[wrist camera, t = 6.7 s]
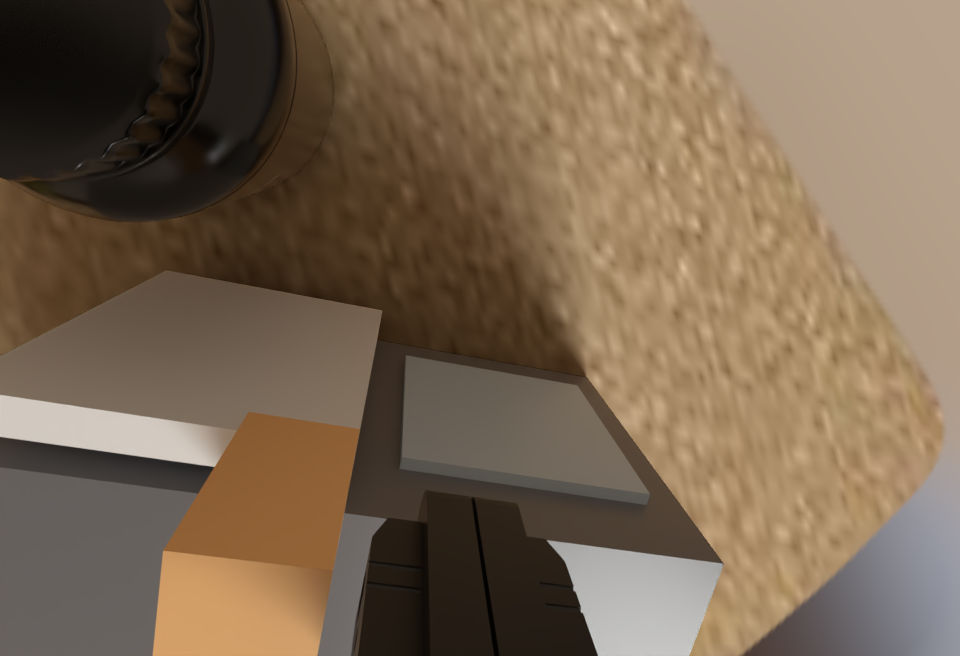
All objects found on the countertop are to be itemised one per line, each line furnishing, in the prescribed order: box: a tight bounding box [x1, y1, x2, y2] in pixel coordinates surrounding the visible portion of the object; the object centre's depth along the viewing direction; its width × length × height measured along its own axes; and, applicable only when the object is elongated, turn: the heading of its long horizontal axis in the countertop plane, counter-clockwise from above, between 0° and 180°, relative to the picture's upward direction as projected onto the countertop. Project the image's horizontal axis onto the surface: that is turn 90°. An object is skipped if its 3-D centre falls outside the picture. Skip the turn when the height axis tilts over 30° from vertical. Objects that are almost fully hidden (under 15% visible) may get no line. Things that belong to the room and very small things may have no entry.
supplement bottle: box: [0, 0, 334, 222], centre depth 14 cm, size 7×7×12 cm
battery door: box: [0, 270, 383, 656], centre depth 14 cm, size 2×7×14 cm, turn 77°
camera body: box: [0, 340, 724, 656], centre depth 18 cm, size 10×17×12 cm, turn 77°
